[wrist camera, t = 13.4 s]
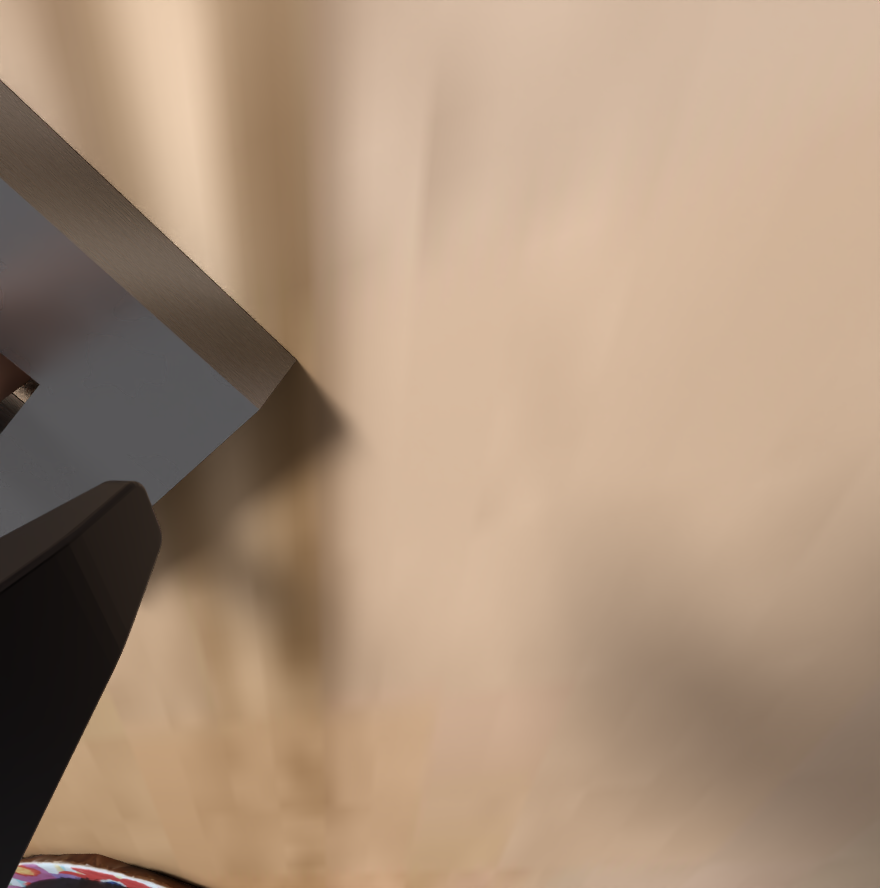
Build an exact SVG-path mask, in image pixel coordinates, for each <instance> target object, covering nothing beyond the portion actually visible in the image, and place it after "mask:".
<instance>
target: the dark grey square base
mask: <svg viewBox="0 0 880 888" xmlns="http://www.w3.org/2000/svg"><path fill="white" fill-rule="evenodd" d="M0 353H1V354H3V355H4V356H5V357H6V358H8V359H9V360H10V361H11V362H13V363H14V364H15V365H16V366H17V367H19V368H20V369H21V370H22V371H24V372H25V373H26V374H27V375H29V376H30V377H31V378H32V379H34V380H35V381H36V382H37V383H38V384H40V385H39V386H38V387H37V389H36V390H35V391H34V392H33V394H32V395H31V396H30V397H29V399H28V400H27V401H26V402H25V404H24V403H23V402H22V401H20V400H19V399H18V398H17V397H15V396H14V395H13V394H12V393H11V394H10V395H9V396H7V397H6V398H5V399H3V400H2V401H0V537H2V536H4V535H6V534H8V533H10V532H11V531H13V530H15V529H17V528H19V527H21V526H23V525H25V524H26V523H28V522H30V521H32V520H34V519H36V518H38V517H40V516H41V515H43V514H45V513H47V512H49V511H51V510H53V509H55V508H56V507H58V506H60V505H62V504H64V503H66V502H68V501H69V500H71V499H73V498H75V497H77V496H79V495H81V494H83V493H84V492H86V491H88V490H90V489H92V488H94V487H96V486H98V485H99V484H101V483H103V482H106V481H110V480H120V481H136V482H139V483H141V484H142V485H143V486H144V487H145V489H146V491H147V494H148V497H149V499H150V502H151V504H152V506H153V505H154V504H155V503H156V502H157V501H158V500H159V499H161V498H162V497H163V496H164V495H165V494H166V493H167V492H168V491H169V490H171V489H172V488H173V487H174V486H175V485H176V484H177V483H178V482H179V481H181V480H182V479H183V478H184V477H185V476H186V475H187V474H188V473H189V472H191V471H192V470H193V469H194V468H195V467H196V466H197V465H198V464H199V463H201V462H202V461H203V460H204V459H205V458H206V457H207V456H208V455H209V454H211V453H212V452H213V451H214V450H215V449H216V448H217V447H218V446H219V445H221V444H222V443H223V442H224V441H225V440H226V439H227V438H228V437H229V436H231V435H232V434H233V433H234V432H235V431H236V430H237V429H238V428H240V427H241V426H242V425H243V424H244V423H245V422H246V421H247V420H248V419H250V418H251V417H252V416H253V415H254V414H255V413H256V412H257V411H258V410H259V409H260V408H261V407H262V405H263V404H264V403H265V401H266V400H267V399H268V397H269V396H270V395H271V393H272V392H273V391H274V389H275V388H276V387H277V385H278V384H279V383H280V381H281V380H282V379H283V377H284V376H285V375H286V373H287V372H288V371H289V369H290V368H291V367H292V365H293V364H294V363H295V361H296V359H295V358H294V357H293V356H291V355H290V354H289V353H288V352H287V351H286V350H285V349H284V348H283V347H282V346H281V345H280V344H279V343H278V342H277V341H276V340H275V339H273V338H272V337H271V336H270V335H269V334H268V333H267V332H266V331H265V330H264V329H263V328H262V327H261V326H260V325H259V324H258V323H257V322H255V321H254V320H253V319H252V318H251V317H250V316H249V315H248V314H247V313H246V312H245V311H244V310H243V309H242V308H241V307H240V306H239V305H237V304H236V303H235V302H234V301H233V300H232V299H231V298H230V297H229V296H228V295H227V294H226V293H225V292H224V291H223V290H222V289H221V288H219V287H218V286H217V285H216V284H215V283H214V282H213V281H212V280H211V279H210V278H209V277H208V276H207V275H206V274H205V273H204V272H202V271H201V270H200V269H199V268H198V267H197V266H196V265H195V264H194V263H193V262H192V261H191V260H190V259H189V258H188V257H187V256H186V255H184V254H183V253H182V252H181V251H180V250H179V249H178V248H177V247H176V246H175V245H174V244H173V243H172V242H171V241H170V240H169V239H168V238H166V237H165V236H164V235H163V234H162V233H161V232H160V231H159V230H158V229H157V228H156V227H155V226H154V225H153V224H152V223H151V222H150V221H148V220H147V219H146V218H145V217H144V216H143V215H142V214H141V213H140V212H139V211H138V210H137V209H136V208H135V207H134V206H133V205H132V204H130V203H129V202H128V201H127V200H126V199H125V198H124V197H123V196H122V195H121V194H120V193H119V192H118V191H117V190H116V189H115V188H113V187H112V186H111V185H110V184H109V183H108V182H107V181H106V180H105V179H104V178H103V177H102V176H101V175H100V174H99V173H98V172H97V171H95V170H94V169H93V168H92V167H91V166H90V165H89V164H88V163H87V162H86V161H85V160H84V159H83V158H82V157H81V156H80V155H79V154H77V153H76V152H75V151H74V150H73V149H72V148H71V147H70V146H69V145H68V144H67V143H66V142H65V141H64V140H63V139H62V138H61V137H59V136H58V135H57V134H56V133H55V132H54V131H53V130H52V129H51V128H50V127H49V126H48V125H47V124H46V123H45V122H44V121H43V120H41V119H40V118H39V117H38V116H37V115H36V114H35V113H34V112H33V111H32V110H31V109H30V108H29V107H28V106H27V105H26V104H24V103H23V102H22V101H21V100H20V99H19V98H18V97H17V96H16V95H15V94H14V93H13V92H12V91H11V90H10V89H9V88H8V87H6V86H5V85H4V84H3V83H2V82H1V81H0Z"/></svg>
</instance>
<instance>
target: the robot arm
mask: <svg viewBox="0 0 880 888" xmlns="http://www.w3.org/2000/svg"><path fill="white" fill-rule="evenodd" d="M161 543H162V533H161V528H160V525H159V523H158V520H157V517H156V515H155V512H154V510H153V507H152V504H151V502H150V499H149V497H148V494H147V491H146V489H145V487H144V486H143V485H142V484H141V483H139V482H136V481H120V480H110V481H106V482H103V483H101V484H99V485H98V486H96V487H94V488H92V489H90V490H88V491H86V492H84V493H83V494H81V495H79V496H77V497H75V498H73V499H71V500H69V501H68V502H66V503H64V504H62V505H60V506H58V507H56V508H55V509H53V510H51V511H49V512H47V513H45V514H43V515H41V516H40V517H38V518H36V519H34V520H32V521H30V522H28V523H26V524H25V525H23V526H21V527H19V528H17V529H15V530H13V531H11V532H10V533H8V534H6V535H4V536H2V537H0V888H8V886H9V884H10V882H11V880H12V878H13V876H14V874H15V872H16V869H17V867H18V865H19V863H20V861H21V859H22V857H23V855H24V853H25V851H26V849H27V847H28V845H29V843H30V841H31V839H32V837H33V835H34V833H35V831H36V829H37V827H38V824H39V822H40V820H41V818H42V816H43V814H44V812H45V810H46V808H47V806H48V804H49V802H50V800H51V798H52V796H53V794H54V792H55V790H56V788H57V786H58V784H59V782H60V780H61V777H62V775H63V773H64V771H65V769H66V767H67V765H68V763H69V761H70V759H71V757H72V755H73V753H74V751H75V749H76V747H77V745H78V743H79V741H80V739H81V737H82V735H83V732H84V730H85V728H86V726H87V724H88V722H89V720H90V718H91V716H92V714H93V712H94V710H95V708H96V706H97V704H98V702H99V700H100V698H101V696H102V694H103V692H104V690H105V688H106V685H107V683H108V681H109V679H110V677H111V675H112V673H113V671H114V669H115V667H116V665H117V662H118V660H119V658H120V656H121V654H122V651H123V649H124V646H125V644H126V641H127V639H128V636H129V634H130V631H131V628H132V626H133V623H134V620H135V617H136V615H137V612H138V609H139V606H140V604H141V601H142V598H143V595H144V593H145V590H146V587H147V584H148V582H149V579H150V576H151V573H152V571H153V568H154V565H155V562H156V560H157V557H158V554H159V552H160V548H161Z"/></svg>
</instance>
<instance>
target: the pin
mask: <svg viewBox="0 0 880 888" xmlns="http://www.w3.org/2000/svg"><path fill="white" fill-rule="evenodd" d="M30 379H32V378H31V377H30V376H29V375H27V374H26V373H25V372H24V371H22V370H21V369H20V368H19V367H17V366H16V365H15V364H14V363H13V362H11V361H10V360H9V359H8V358H6V357H5V356H4V355H3V354H1V353H0V401H2V400H3V399H5V398H6V397H7V396H9V395H10V394H11V393H13V392H14V391H15V390H17V389H18V388H19V387H21V386H22V385H23V384H25V383H26V382H28V381H29V380H30Z"/></svg>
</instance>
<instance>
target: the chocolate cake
mask: <svg viewBox="0 0 880 888" xmlns="http://www.w3.org/2000/svg"><path fill="white" fill-rule="evenodd" d="M8 888H196V887H194V886H191V885H188V884H185V883H183V882H180V881H177V880H175V879H172V878H169V877H166V876H164V875H161V874H158V873H155V872H153V871H150V870H147V869H143V868H139V867H135V866H132V865H129V864H126V863H123V862H120V861H118V860H115V859H112V858H109V857H106V856H103V855H99V854H63V855H60V856H58V855H37V856H32V857H28V858H24V859H21V861H20V863H19V865H18V867H17V869H16V872H15V874H14V876H13V878H12V880H11V882H10V884H9V886H8Z"/></svg>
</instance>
